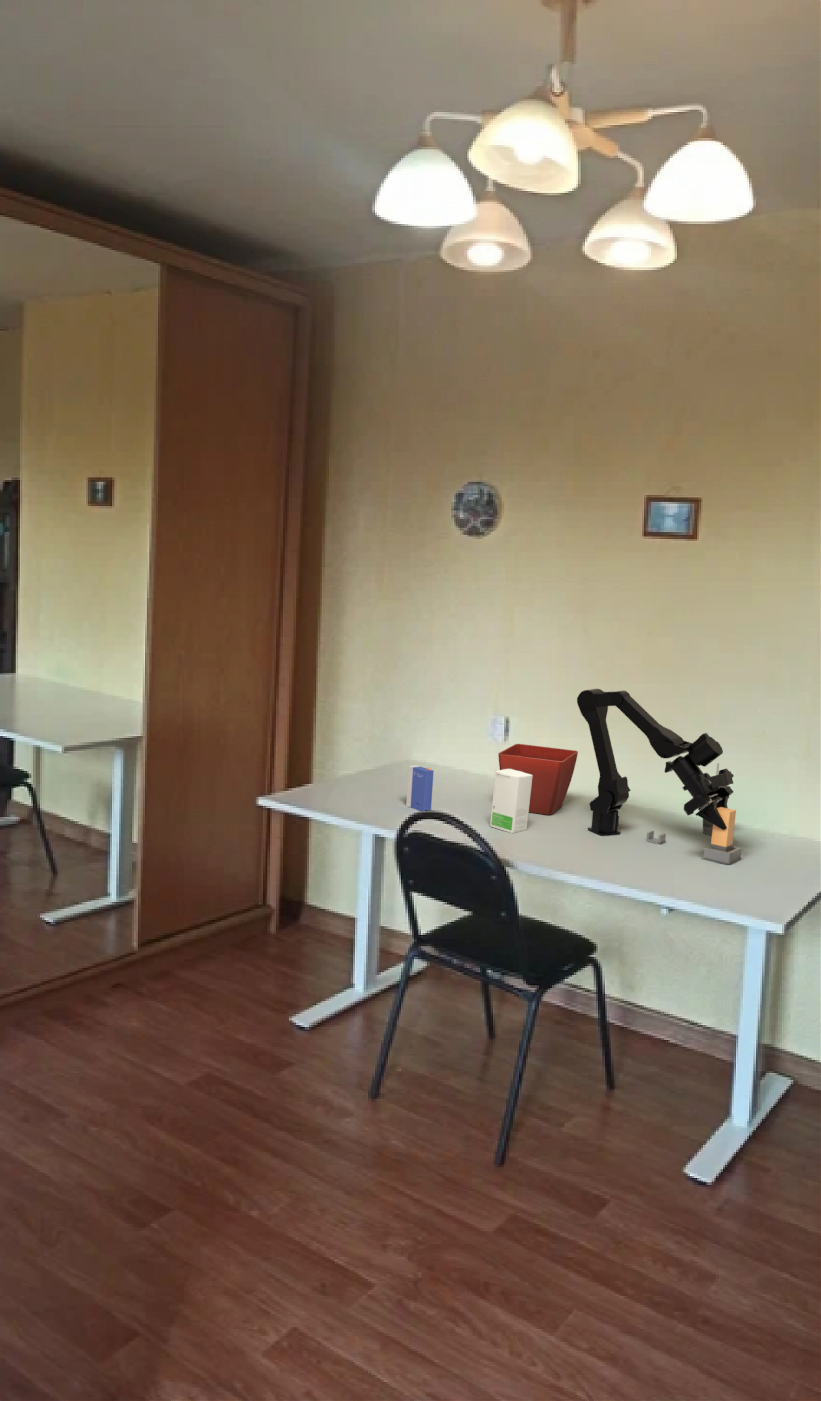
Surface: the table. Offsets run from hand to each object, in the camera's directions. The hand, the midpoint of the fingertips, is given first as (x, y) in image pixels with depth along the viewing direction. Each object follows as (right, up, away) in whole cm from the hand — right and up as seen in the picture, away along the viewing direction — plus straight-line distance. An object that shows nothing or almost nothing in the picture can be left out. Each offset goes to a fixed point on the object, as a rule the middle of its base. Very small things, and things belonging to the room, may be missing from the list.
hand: (728, 827), depth 283 cm
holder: (-2, -8, +2) cm, 9 cm away
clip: (-15, -6, +15) cm, 22 cm away
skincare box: (-54, -3, +20) cm, 57 cm away
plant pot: (-44, 0, +45) cm, 63 cm away
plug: (-2, -6, +2) cm, 7 cm away
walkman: (-78, +1, +36) cm, 86 cm away
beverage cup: (+3, -5, +28) cm, 28 cm away
